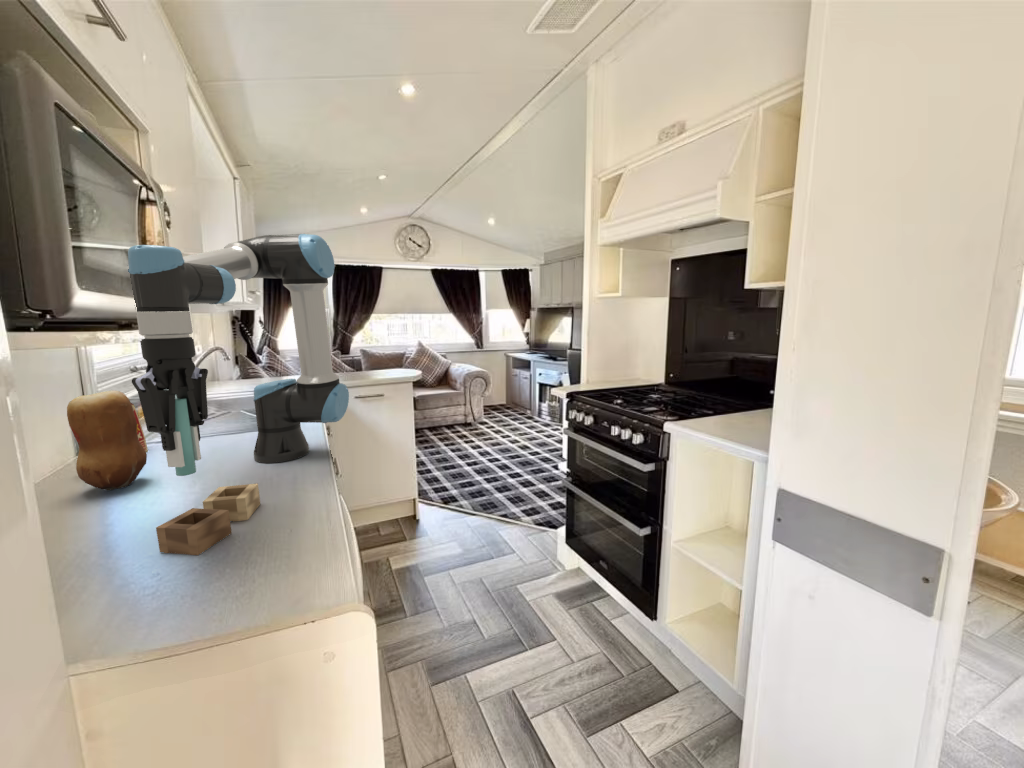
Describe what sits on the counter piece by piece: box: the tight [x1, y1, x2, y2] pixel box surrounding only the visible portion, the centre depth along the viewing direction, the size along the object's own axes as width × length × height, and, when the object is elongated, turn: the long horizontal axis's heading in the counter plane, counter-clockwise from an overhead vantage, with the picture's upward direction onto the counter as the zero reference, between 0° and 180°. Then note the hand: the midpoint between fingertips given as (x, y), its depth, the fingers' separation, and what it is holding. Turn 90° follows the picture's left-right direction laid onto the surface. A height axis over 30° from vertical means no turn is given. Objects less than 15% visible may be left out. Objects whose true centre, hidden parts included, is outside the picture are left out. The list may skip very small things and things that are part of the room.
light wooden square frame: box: [202, 483, 261, 522], centre depth 96 cm, size 8×8×5 cm
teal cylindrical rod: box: [174, 397, 197, 477], centre depth 81 cm, size 3×3×14 cm
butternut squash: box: [66, 390, 148, 492], centre depth 110 cm, size 14×13×25 cm
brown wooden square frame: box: [155, 507, 233, 556], centre depth 84 cm, size 8×8×5 cm
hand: (185, 462), depth 82 cm, fingers closed on teal cylindrical rod, 3 cm apart
